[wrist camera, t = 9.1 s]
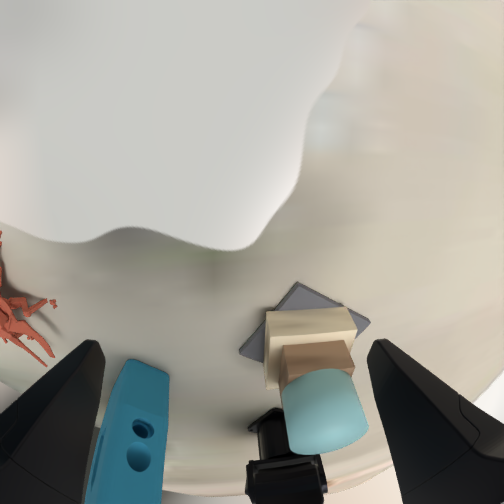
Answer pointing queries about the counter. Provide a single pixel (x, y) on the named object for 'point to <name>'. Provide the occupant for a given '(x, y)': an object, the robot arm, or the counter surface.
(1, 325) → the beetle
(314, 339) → the tower base
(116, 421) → the block
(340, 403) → the light blue cylinder
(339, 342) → the tower block
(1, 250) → the counter surface
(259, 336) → the mat
